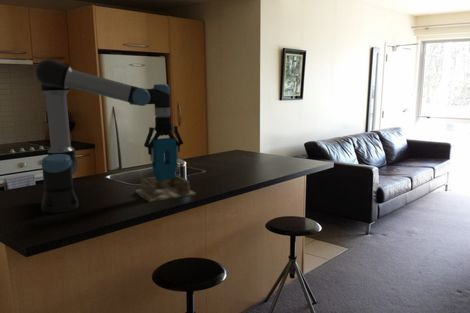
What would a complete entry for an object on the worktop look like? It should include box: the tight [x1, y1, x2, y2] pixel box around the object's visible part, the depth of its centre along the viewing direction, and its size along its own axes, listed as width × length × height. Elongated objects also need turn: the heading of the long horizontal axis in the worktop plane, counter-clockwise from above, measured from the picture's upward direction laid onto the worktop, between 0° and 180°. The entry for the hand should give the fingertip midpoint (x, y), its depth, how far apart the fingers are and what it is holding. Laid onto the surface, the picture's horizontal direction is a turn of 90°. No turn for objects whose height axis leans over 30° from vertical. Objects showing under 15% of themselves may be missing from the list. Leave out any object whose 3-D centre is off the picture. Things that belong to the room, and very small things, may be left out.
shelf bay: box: [135, 174, 197, 203], centre depth 201 cm, size 24×22×7 cm
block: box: [150, 137, 178, 181], centre depth 199 cm, size 12×5×20 cm, turn 133°
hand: (164, 160), depth 199 cm, fingers closed on block, 12 cm apart
